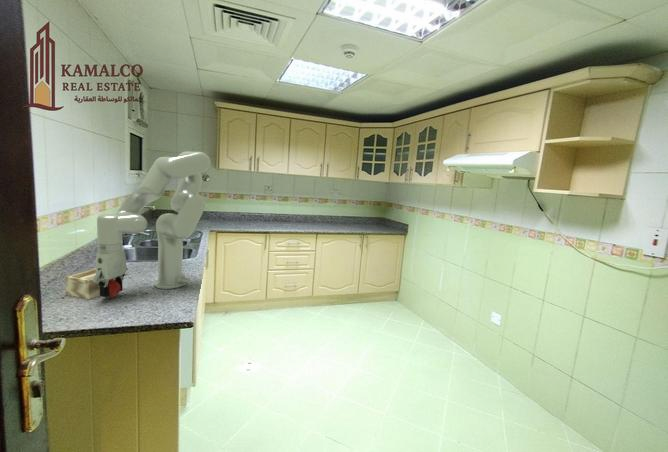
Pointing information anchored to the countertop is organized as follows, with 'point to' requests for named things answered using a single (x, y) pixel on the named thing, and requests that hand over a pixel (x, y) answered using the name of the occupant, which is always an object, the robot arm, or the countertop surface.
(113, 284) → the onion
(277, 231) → the countertop surface
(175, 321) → the countertop surface
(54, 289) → the countertop surface
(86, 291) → the birch box
